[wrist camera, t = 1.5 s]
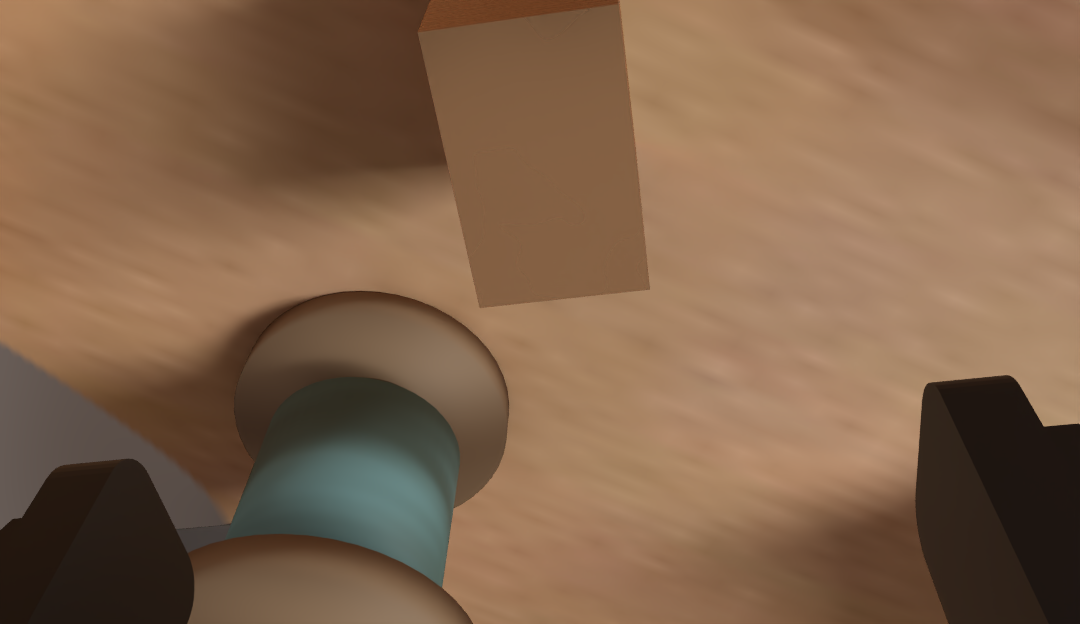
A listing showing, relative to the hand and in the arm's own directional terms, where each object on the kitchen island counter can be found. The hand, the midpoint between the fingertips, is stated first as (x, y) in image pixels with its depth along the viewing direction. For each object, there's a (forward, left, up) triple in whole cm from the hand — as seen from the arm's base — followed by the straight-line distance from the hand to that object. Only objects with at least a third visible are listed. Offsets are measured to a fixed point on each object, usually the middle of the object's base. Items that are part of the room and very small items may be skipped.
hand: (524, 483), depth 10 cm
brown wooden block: (0, 0, -13) cm, 13 cm away
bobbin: (+9, -6, -13) cm, 17 cm away
